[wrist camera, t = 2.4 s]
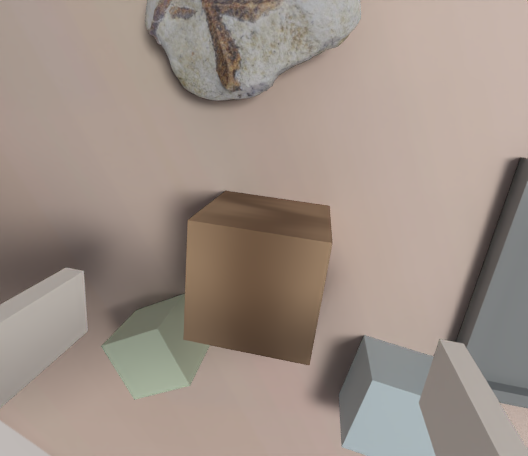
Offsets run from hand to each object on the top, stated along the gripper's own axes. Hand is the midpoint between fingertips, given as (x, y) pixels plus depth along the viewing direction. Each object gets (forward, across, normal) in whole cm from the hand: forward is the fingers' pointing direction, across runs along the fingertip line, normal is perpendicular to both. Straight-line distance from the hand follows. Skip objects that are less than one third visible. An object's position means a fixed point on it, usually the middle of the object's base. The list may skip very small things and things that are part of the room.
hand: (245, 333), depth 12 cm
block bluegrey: (+9, +8, -7) cm, 14 cm away
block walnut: (+8, 0, 0) cm, 8 cm away
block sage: (+8, -6, -7) cm, 13 cm away
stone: (+8, +1, +11) cm, 14 cm away
